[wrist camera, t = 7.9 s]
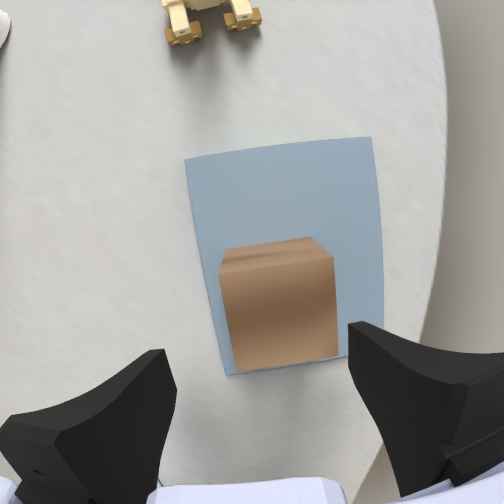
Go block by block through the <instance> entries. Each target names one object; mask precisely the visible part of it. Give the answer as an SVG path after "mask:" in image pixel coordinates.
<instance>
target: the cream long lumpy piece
mask: <svg viewBox="0 0 504 504" xmlns="http://www.w3.org/2000/svg"><path fill="white" fill-rule="evenodd" d="M229 1H230V4H231V7H232V10H233V12H230V13H226V14H224V21H225V24H226V28H227V31H229V30H234V29H237V31H240V30H245V29H250V28H251V26H254V25H260V24H261V21H262V18H261V15H260V12H259V8H258V7H257V8H251V6H250V3H249V1H248V0H229ZM220 3H224V0H162V4H163V7H164V9H165V11H166V13H167V14H168V13H170V18H171V24H172V28H170V29H167V30H165V33H166V38H167V42H168V43H169V45H170V46H173V45H177V44H180V45H185V44H188V43H191V42H195V40H194V39H197V38H201V37H203V33H202V29H201V25H200V22H199V20H197V21H193V22H190V23H189V20H188V16H187V11H186V8H188V7H190V8H191V10H195V9H196V11H199V10H202V9H206V8H210V7H215V6H219V5H220Z"/></svg>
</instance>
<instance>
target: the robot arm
mask: <svg viewBox="0 0 504 504" xmlns="http://www.w3.org/2000/svg"><path fill="white" fill-rule="evenodd" d="M348 367H349V370H350V373H351V376H352V379H353V381H354V384H355V386H356V388H357V390H358V392H359V394H360V396H361V398H362V399H363V401H364V403H365V405H366V407H367V408H368V410H369V412H370V414H371V416H372V418H373V419H374V421H375V423H376V425H377V427H378V429H379V431H380V434H381V436H382V439H383V442H384V444H385V447H386V450H387V452H388V455H389V459H390V461H391V465H392V468H393V471H394V474H395V478H396V481H397V484H398V488H399V492H400V496H401V498H400V499H397V500H394V501H391V502H388V503H383V504H504V352H503V353H490V354H475V353H474V354H473V353H459V352H452V351H446V350H440V349H436V348H432V347H428V346H424V345H421V344H418V343H415V342H412V341H409V340H407V339H404V338H401V337H399V336H397V335H394V334H392V333H390V332H387V331H385V330H383V329H381V328H379V327H377V326H374V325H372V324H370V323H367V322H365V321H359V322H354V323H349V324H348ZM176 395H177V388H176V385H175V382H174V379H173V376H172V372H171V369H170V366H169V363H168V360H167V356H166V353H165V350H164V349H156V350H149V351H147V352H146V353H144V354H143V355H141V356H140V357H139V358H137V359H136V360H135V361H133V362H132V363H131V364H129V365H128V366H127V367H125V368H124V369H123V370H121V371H120V372H118V373H117V374H116V375H114V376H113V377H111V378H110V379H108V380H107V381H105V382H104V383H102V384H101V385H99V386H97V387H96V388H94V389H92V390H90V391H88V392H86V393H85V394H83V395H81V396H78V397H76V398H74V399H71V400H69V401H66V402H64V403H61V404H59V405H56V406H52V407H49V408H46V409H42V410H38V411H34V412H28V413H22V414H16V415H11V416H10V417H9V418H8V419H7V420H6V422H5V423H4V424H3V425H2V426H1V428H0V451H1V452H2V454H3V456H4V457H5V458H6V460H7V461H8V462H9V464H10V465H11V466H12V468H13V469H14V470H15V471H16V473H17V474H18V475H19V476H20V478H21V479H22V481H21V483H20V484H19V485H18V484H16V483H15V482H14V481H12V480H10V479H7V478H5V477H2V476H0V504H348V503H347V499H346V496H345V493H344V491H343V489H342V487H341V485H340V483H339V482H336V481H333V480H330V479H326V478H323V477H320V476H305V477H289V478H282V479H274V480H265V481H255V482H243V483H227V484H179V485H171V486H163V487H162V486H161V484H160V482H159V481H158V473H159V466H160V459H161V455H162V451H163V447H164V444H165V441H166V437H167V434H168V430H169V427H170V424H171V420H172V417H173V413H174V410H175V403H176Z"/></svg>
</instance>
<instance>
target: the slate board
mask: <svg viewBox="0 0 504 504" xmlns="http://www.w3.org/2000/svg"><path fill="white" fill-rule="evenodd" d="M184 161H185V168H186V174H187V180H188V187H189V193H190V199H191V205H192V211H193V217H194V222H195V228H196V234H197V239H198V245H199V250H200V255H201V261H202V266H203V271H204V276H205V281H206V286H207V291H208V296H209V301H210V306H211V311H212V315H213V320H214V325H215V329H216V334H217V338H218V343H219V347H220V352H221V356H222V361H223V365H224V369H225V373H226V375H231V374H240V373H248V372H256V371H263V370H270V369H277V368H284V367H290V366H296V365H302V364H308V363H313V362H319V361H324V360H329V359H334V358H339V357H344V356H348V324H349V323H354V322H359V321H365V322H367V323H370V324H372V325H374V326H377V327H379V328H381V329H383V328H384V275H383V248H382V231H381V217H380V206H379V195H378V185H377V177H376V168H375V161H374V153H373V146H372V140H371V137H357V138H342V139H329V140H318V141H308V142H298V143H289V144H280V145H272V146H265V147H257V148H250V149H243V150H237V151H230V152H224V153H218V154H212V155H207V156H201V157H196V158H190V159H185V160H184ZM306 237H312V238H313V239H314V240H315V241H316V242H317V243H318V244H320V245H321V246H322V247H323V248H324V249H325V250H326V251H327V252H328V253H329V254H331V255H332V256H333V257H334V270H335V284H336V301H337V321H338V350H339V356H334V357H329V358H324V359H318V360H313V361H307V362H301V363H295V364H289V365H283V366H276V367H269V368H262V369H254V370H246V371H237V370H236V365H235V360H234V355H233V350H232V345H231V340H230V335H229V330H228V325H227V320H226V315H225V309H224V304H223V299H222V293H221V288H220V283H219V277H218V272H219V269H220V266H221V262H222V259H223V256H224V252H225V249H230V248H237V247H244V246H250V245H257V244H264V243H271V242H278V241H285V240H292V239H299V238H306Z"/></svg>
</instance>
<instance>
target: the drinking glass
mask: <svg viewBox="0 0 504 504" xmlns="http://www.w3.org/2000/svg"><path fill="white" fill-rule="evenodd" d="M9 29H10V17H9V15H8V14H7V13H6V12H4V11H3V10H1V9H0V48H1V47H2V45H3V43H4V42H5V40H6V38H7V35H8V32H9Z"/></svg>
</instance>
